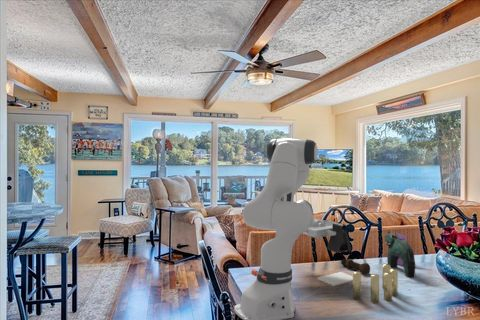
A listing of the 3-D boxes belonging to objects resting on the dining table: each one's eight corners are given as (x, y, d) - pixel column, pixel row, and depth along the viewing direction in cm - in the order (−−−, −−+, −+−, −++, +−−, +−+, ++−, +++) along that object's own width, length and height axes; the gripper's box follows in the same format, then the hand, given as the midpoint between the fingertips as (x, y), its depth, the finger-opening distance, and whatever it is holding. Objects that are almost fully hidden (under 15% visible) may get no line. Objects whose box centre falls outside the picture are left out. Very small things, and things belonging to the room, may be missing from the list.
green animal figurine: (383, 264, 167) (383, 226, 167) (395, 264, 167) (395, 226, 167) (406, 278, 147) (406, 235, 147) (419, 278, 147) (419, 234, 148)
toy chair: (393, 264, 167) (393, 236, 167) (389, 259, 175) (389, 232, 176) (410, 265, 165) (410, 237, 165) (405, 260, 174) (405, 233, 174)
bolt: (344, 269, 165) (368, 277, 152) (337, 265, 163) (361, 273, 150) (347, 258, 167) (371, 265, 154) (341, 254, 165) (365, 261, 152)
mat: (333, 286, 137) (333, 284, 137) (316, 278, 145) (316, 277, 145) (358, 279, 145) (358, 278, 145) (340, 272, 153) (340, 271, 154)
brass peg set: (373, 307, 117) (373, 280, 117) (351, 297, 125) (351, 272, 125) (407, 294, 128) (407, 269, 128) (385, 286, 137) (385, 263, 137)
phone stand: (336, 252, 140) (336, 225, 140) (326, 249, 145) (327, 223, 145) (351, 250, 144) (351, 224, 144) (342, 247, 149) (342, 221, 149)
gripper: (301, 223, 151) (322, 229, 139) (331, 219, 162) (353, 224, 150) (301, 237, 151) (322, 243, 139) (331, 232, 162) (353, 238, 150)
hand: (339, 233), depth 145 cm, fingers closed on phone stand
